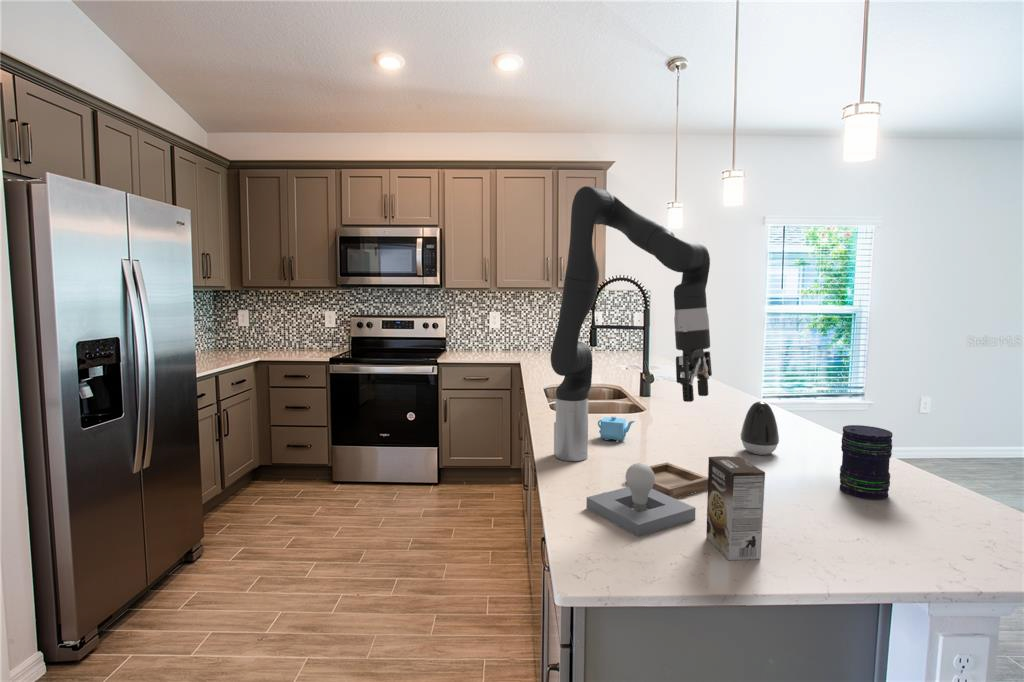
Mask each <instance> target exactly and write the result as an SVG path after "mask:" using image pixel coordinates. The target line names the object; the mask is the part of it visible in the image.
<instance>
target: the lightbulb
mask: <svg viewBox="0 0 1024 682" xmlns="http://www.w3.org/2000/svg"><path fill="white" fill-rule="evenodd" d="M625 482H626V485H627V487H629V488H630V490H631V494H632V501H633V506H632V507H633V508H632V509H633V510H635V511H637V512H643V511H646V509H647V507H646V503H647V498H648V494H649V492H650V490H651V489H652V487H653V485H654V482H655V475H654V472H653V470H652V469H651V468H650V467H649V465H647V464H646V463H643V462H636V463H633V464H632V465H630V466H629V467H628V468H627V470H626V472H625Z"/></svg>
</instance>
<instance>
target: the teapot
mask: <svg viewBox="0 0 1024 682" xmlns="http://www.w3.org/2000/svg"><path fill="white" fill-rule="evenodd" d="M634 422H636V420H630V421H629V422H628V423H627V418H619V417H616V416H615V415H613V416H610V417H607V416H606V417H605V416H604V417H603V418H602V419H599V420H598V421H597V426H598V428H599V430H598V433H599V435H600V439H603V440H609V441H610V440H616V441H619V440H620V441H624V439H625V438H626V435H627V433H628V432H629V431H630V428H631V426H632V424H633V423H634ZM616 441H615V442H616Z"/></svg>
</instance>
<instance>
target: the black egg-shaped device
mask: <svg viewBox="0 0 1024 682" xmlns="http://www.w3.org/2000/svg"><path fill="white" fill-rule="evenodd" d="M740 440H741V443H742V445H743V448H744V449H745V450H746V451H747V452H749V453H751V454H754V455H757V456H758V455H759V456H767V455H770V454H772V453H774V451H776V449H777V447H778V444H779V443H780V435H779V428H778V424H777V421H776V417H775V413H774V411H773V409H772V408H771V406H770V405H769V404H768V403H766V402H765V401H756V402H754V403H752V404H751V405H750V407H749V409H748V411H747V412H746V414H745V418H744V420H743V424H742V428H741V432H740Z"/></svg>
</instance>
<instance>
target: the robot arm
mask: <svg viewBox="0 0 1024 682" xmlns="http://www.w3.org/2000/svg"><path fill="white" fill-rule="evenodd" d="M595 225H602V226H607V227H610V228H613V229H615V230H618V231H620V232H621V233H622V234H623V235H624V236H625V237H626V238H627V239H628V240H629V241H630V242H631V243H633V244H634V245H635V246H636V247H638V248H639V249H641V250H643V251H645V252H647V253H648V254H649V255H652V256H654V257H655V259H657V261H659V262H660V263H661V264H662V265H663V266H664V267H665V268H667V269H669V270H670V271H674V272H676V273H682V276H681V282H680V283H679V284H678V285H677V284H676V286H675V287H674V290H673V301H674V302H673V303H674V337H675V349H676V350H678V351H682V355H680V356H679V355H677V356H675V369H676V371H675V374H676V376H675V377H676V379H675V380H676V383H677V384H680V385H681V387H682V399H683V402H684V403H691V402H694V401H695V399H694V396H695V395H694V385H693V383H694V379H695V378H696V379H697V381H696V382H697V393H698V394H697V395H698V396H699V397H707V396H709V383H708V380H709V379H710V377H712V374H713V373H712V360H711V359H712V358H711V352H710V351H707V350H708V349H710V348H711V337H710V333H711V332H710V318H709V313H708V308H707V306H708V305H707V293H706V291H707V290H706V288H707V284H708V279H709V273H710V267H711V258H710V254H709V250H708V249H707V247H706V245H704V244H703V243H701V242H699V241H698V242H697V241H685V240H683V239H680V238H679V237H676V236H675V233H674V232H673V231H672V230H670V229H669V228H667V227H665V226H664V225H661V224H660V223H658V222H656V221H654V220H652V219H650V218H648V217H646V216H644V215H642V214H640V213H638V212H636V211H635V210H633V209H632V208H630V207H629V206H627V205H626V204H625V203H624V202H623V201H622V200H620V199H619V198H618V197H617V196H616V195H614V194H613V193H612V192H610V191H608V190H606V189H603V188H602V189H601V188H597V187H594V186H587V185H586V186H585V185H584V186H582V187H581V188H579V189H578V190H577V191H576V193H575V195H574V196H573V200H572V204H571V213H570V230H569V231H570V232H569V233H570V236H569V247H568V253H567V261H566V262H567V263H566V270H565V274H564V281H563V289H562V299H561V304H560V310H559V315H558V321H557V322H558V323H557V326H556V329H555V330H556V331H555V335H554V338H553V343H552V346H551V347H552V348H551V351H550V366H551V368H552V370H553V371H554V373H555V374H556V375H558V376H561V377H562V376H564V378H563V380H562V382H561V383H560V384H559V385H558V386H557V387H556V389H555V421H554V423H553V454H554V455H555V457H556V458H557V459H558V460H561V461H565V462H581V461H585V460H586V459H588V456H589V454H588V452H589V451H588V449H589V447H588V445H589V443H588V442H589V437H588V436H589V393H590V389H591V387H592V381H593V379H592V378H593V353H592V351H591V347H589V345H588V344H586V342H583V341H579V338H580V334H581V333H580V332H581V329H582V326H583V324H584V322H585V320H586V318H587V316H588V315H589V313H590V311H591V309H592V307H593V305H594V303H595V301H596V297H597V293H598V286H599V282H600V269H599V265H598V262H597V259H596V258H597V257H596V255H595V250H594V246H593V238H594V237H593V235H594V230H595ZM704 350H705V351H704Z"/></svg>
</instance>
